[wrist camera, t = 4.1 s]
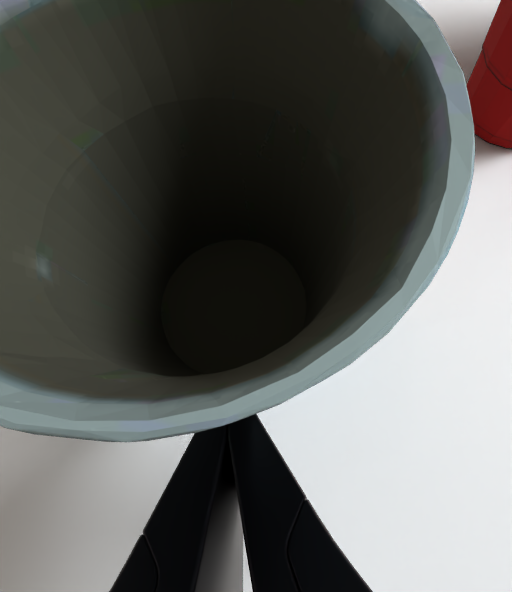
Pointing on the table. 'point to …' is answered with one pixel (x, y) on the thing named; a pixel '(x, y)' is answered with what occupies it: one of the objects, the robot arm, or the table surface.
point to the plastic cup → (494, 81)
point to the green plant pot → (214, 202)
